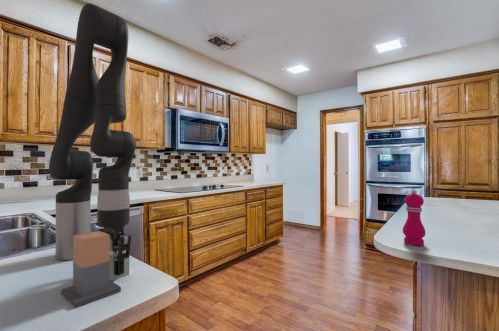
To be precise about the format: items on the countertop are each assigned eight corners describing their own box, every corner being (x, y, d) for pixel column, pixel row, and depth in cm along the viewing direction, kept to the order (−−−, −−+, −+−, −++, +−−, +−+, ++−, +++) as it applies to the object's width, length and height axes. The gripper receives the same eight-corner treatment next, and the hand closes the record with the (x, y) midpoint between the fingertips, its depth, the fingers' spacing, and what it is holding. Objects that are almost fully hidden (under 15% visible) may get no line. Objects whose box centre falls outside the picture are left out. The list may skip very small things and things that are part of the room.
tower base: (61, 293, 59) (61, 262, 59) (104, 280, 66) (104, 252, 66) (75, 307, 54) (75, 273, 54) (120, 291, 60) (120, 260, 60)
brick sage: (98, 275, 69) (98, 252, 69) (119, 269, 73) (119, 247, 73) (107, 281, 66) (107, 257, 66) (129, 274, 70) (129, 251, 70)
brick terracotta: (73, 262, 59) (73, 235, 59) (99, 255, 64) (99, 230, 64) (82, 268, 56) (82, 239, 56) (109, 261, 60) (109, 234, 60)
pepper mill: (425, 247, 93) (426, 190, 93) (402, 244, 97) (402, 189, 97) (425, 242, 100) (425, 189, 100) (402, 239, 103) (403, 188, 103)
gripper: (141, 207, 68) (141, 274, 68) (116, 202, 77) (115, 261, 77) (111, 211, 62) (111, 284, 62) (87, 205, 71) (87, 268, 71)
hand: (113, 271), depth 69 cm, fingers closed on brick sage, 5 cm apart
